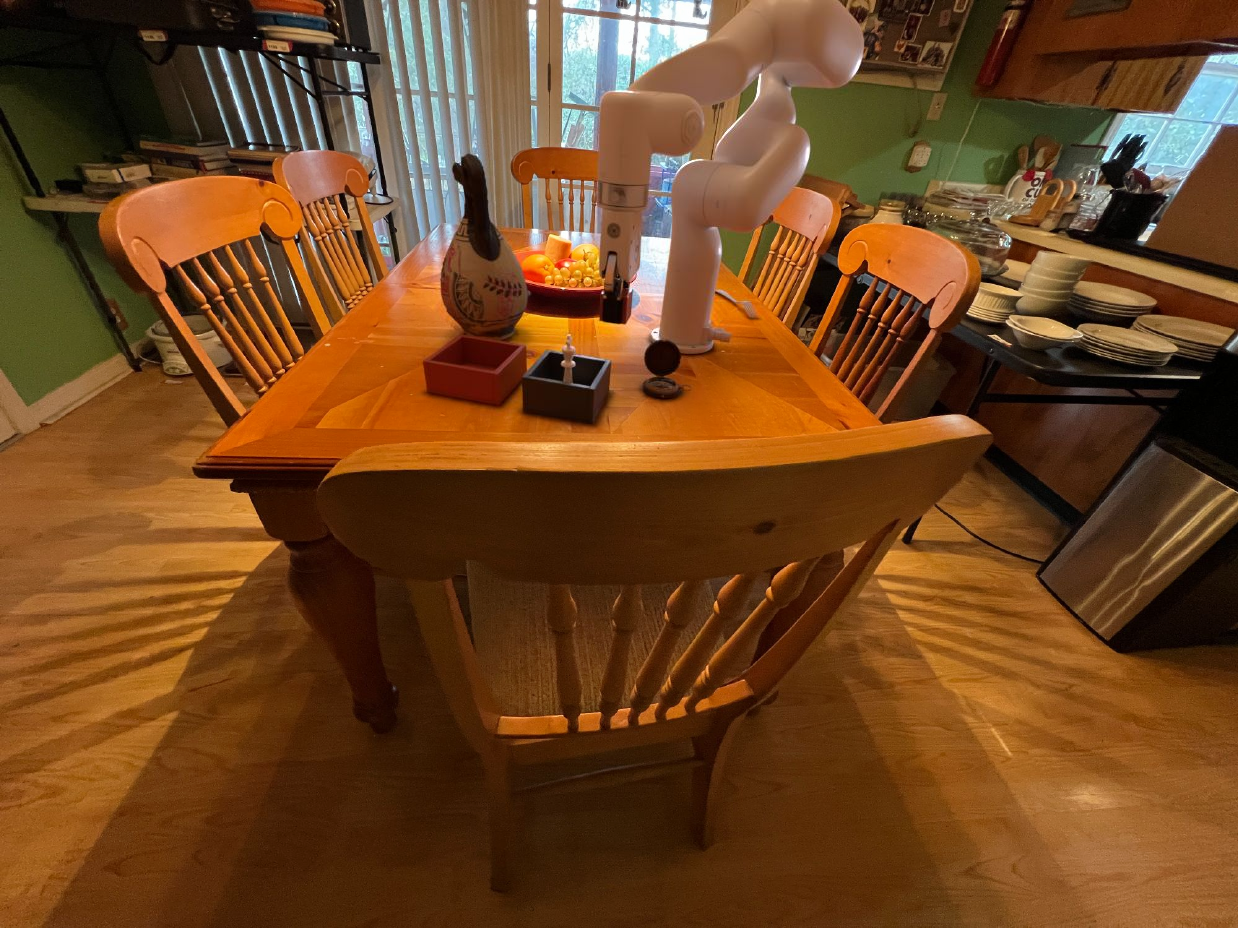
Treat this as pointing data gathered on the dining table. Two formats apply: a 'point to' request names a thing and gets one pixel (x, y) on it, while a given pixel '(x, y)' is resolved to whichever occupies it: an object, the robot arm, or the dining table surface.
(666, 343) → the compass
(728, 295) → the fork
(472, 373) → the red bin
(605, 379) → the charcoal bin
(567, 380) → the chess piece
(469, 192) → the ceramic jug
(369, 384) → the dining table surface
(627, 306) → the red block
